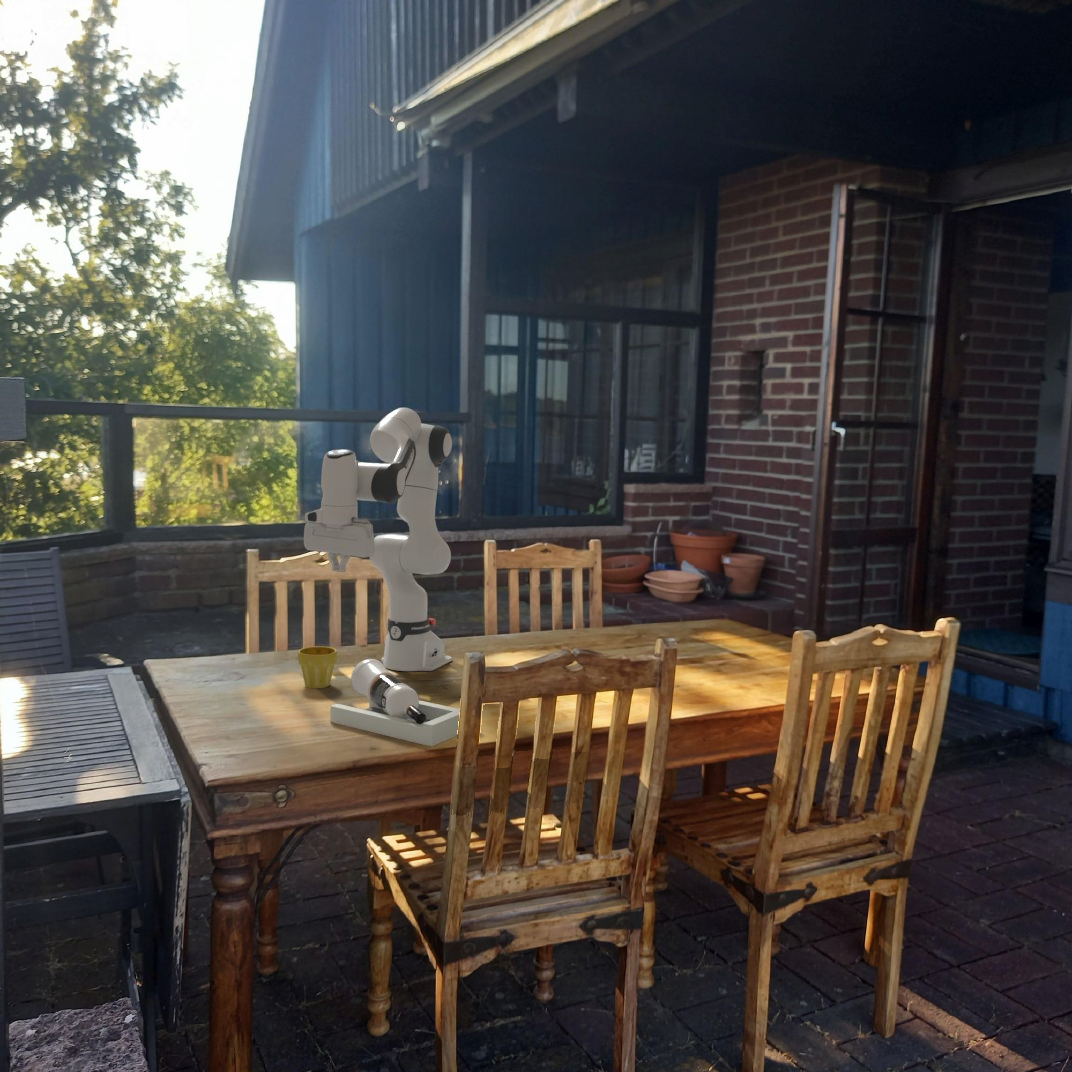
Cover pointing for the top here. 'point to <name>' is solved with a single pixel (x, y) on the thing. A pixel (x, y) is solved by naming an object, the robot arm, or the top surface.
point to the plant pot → (317, 665)
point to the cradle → (401, 722)
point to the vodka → (386, 690)
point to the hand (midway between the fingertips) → (339, 571)
